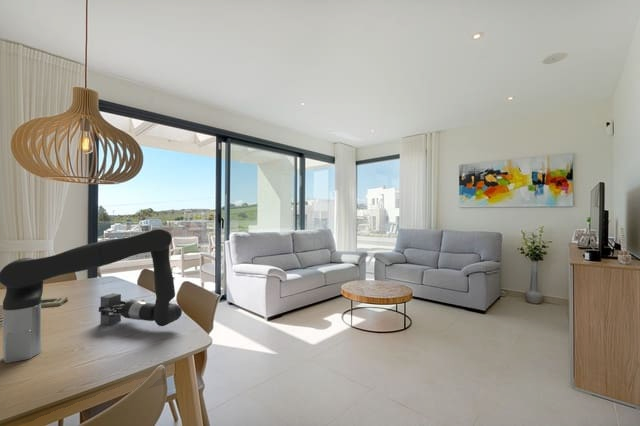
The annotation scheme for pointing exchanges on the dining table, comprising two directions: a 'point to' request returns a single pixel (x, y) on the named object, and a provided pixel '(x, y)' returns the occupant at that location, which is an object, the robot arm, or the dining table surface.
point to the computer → (53, 301)
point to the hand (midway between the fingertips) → (109, 305)
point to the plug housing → (108, 302)
